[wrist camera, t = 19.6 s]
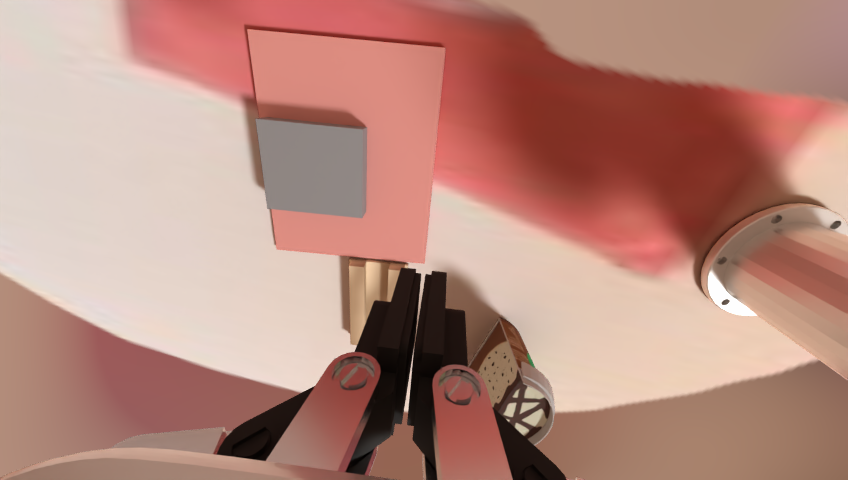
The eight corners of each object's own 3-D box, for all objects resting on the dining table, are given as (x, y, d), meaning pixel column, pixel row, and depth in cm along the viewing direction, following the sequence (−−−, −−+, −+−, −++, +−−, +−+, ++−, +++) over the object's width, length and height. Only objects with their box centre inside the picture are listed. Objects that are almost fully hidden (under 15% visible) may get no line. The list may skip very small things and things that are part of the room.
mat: (445, 48, 26) (445, 47, 25) (424, 261, 34) (424, 263, 34) (250, 30, 26) (247, 28, 25) (278, 247, 34) (276, 249, 34)
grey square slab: (255, 118, 26) (267, 208, 30) (362, 129, 26) (362, 218, 30) (267, 116, 28) (277, 201, 32) (367, 126, 28) (366, 210, 32)
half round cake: (502, 390, 43) (518, 471, 34) (460, 376, 42) (466, 456, 33) (551, 325, 37) (587, 400, 28) (505, 308, 37) (527, 379, 28)
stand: (407, 263, 35) (406, 271, 33) (402, 339, 39) (400, 349, 38) (349, 258, 35) (346, 265, 33) (351, 334, 39) (348, 344, 38)
